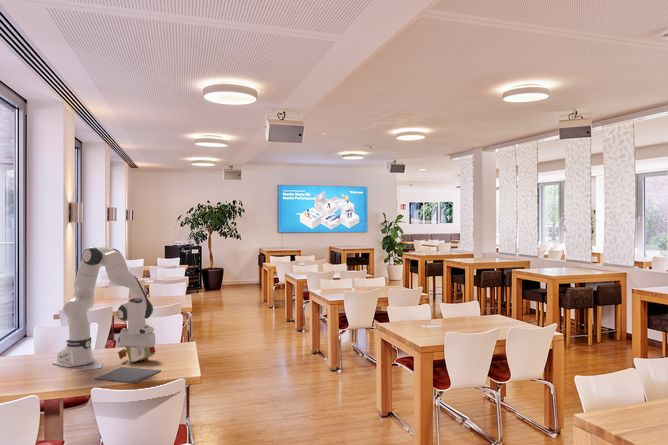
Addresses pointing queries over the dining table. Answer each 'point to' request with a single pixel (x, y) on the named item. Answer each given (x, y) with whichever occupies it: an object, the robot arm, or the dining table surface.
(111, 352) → the dining table surface
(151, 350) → the toy
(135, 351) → the cream tile
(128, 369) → the mat
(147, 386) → the dining table surface
